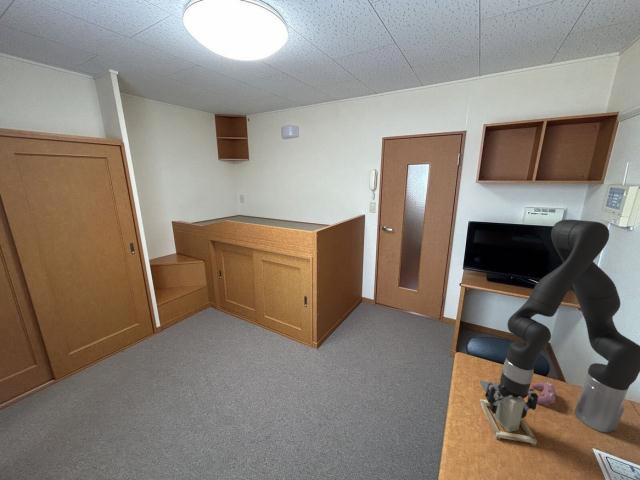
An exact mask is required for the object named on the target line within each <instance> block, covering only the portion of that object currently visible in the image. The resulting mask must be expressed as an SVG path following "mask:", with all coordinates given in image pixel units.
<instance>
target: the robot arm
mask: <svg viewBox="0 0 640 480" xmlns="http://www.w3.org/2000/svg"><path fill="white" fill-rule="evenodd" d="M550 238H551V241H552V244H553V247H554V248H555V250H556V252H557V254H558V255H559V256H558V257H560V259H561V261H562V264H560V265H559V266H558V267H557V268H555V269H553V270H552V271H551V272H549V273H548V274H546V275H545V276H544V277H542V278H540V280H539V281H538V282H537V283H536V284H535V286H534V288H533V289H532V291H531V293H530V295H529V297H528V299H527V301H525V302H524V304H523V305H522V306H521V307H519V309H518V310H516V311H515V312H514V313H513V314H512V315H511V316H510V317H509V318H508V321H507V330H508V331H509V333H511V334H513V336H516V337H517V338H519V339H521V340H522V341H524V342H521V341H512V342H511V343H510V344H509V346H508V350H507V355H506V358H505V361H504V363H503V368H502V370H501V374H500V377H499V378H500V381H499V383H500V384H499V385H498V386H494V385H492V383H489V384H488V387H487V390H486V392H485V394H484V397H485V400H487V401H488V403H490V406H489V408H488V409H490V410H489V411H490V413H491V412H492V414H493V415H494V414H496V411H497V407H498V406H497V405H498V404H499V403H504V402H505V401H507V400H508V399H509V398H510V399H511V398H513V397H517V398H518V400H523V399H524V400H525V399H526V398H527V402H526V401H525V403H524V407H523V412H522V416H521V418H523V419H525V417H526V416H527V414H528V411H529V410H534V411H535V410H537V405H538V403H537V400H538V397H539V395H538V393H537V392H536V390H535V389H534V388H531V384H532V381H533V380H532V379H533V377H534V369H535V365H536V362H537V358H538V357H539V354H540V353H541V352H542V351H543V349H544V348H545V347H546V346H547V345H548V344H549V342H550V340H551V338H552V334H551V333H552V332H551V330H550V328H548V326H547V325H545V324H543V323H541V322H539V321H537V320H535V319H533V317H534V316H535V315H540V316H544V317H548V318H551V317H553V316H554V315H555V314H557V311H558V309H559V308H560V306H561V304H562V302H563V301H564V299H565V297H566V295H567V294H568V293H569V290H570V289H571V287H572V288H573V292H574V294H575V298H576V299H577V302H578V305H579V307H580V310H581V314H582V316H583V318H584V319H583V320H584V321H585V324H586V330H587V336H588V340H589V341H588V342H589V344H590V346H591V349H593V351H595V353H596V354H597V355H599V356H600V357H602V358H603V359H604V360H606V361H607V364H604V363H597V362H594V363H591V364H590V365H589V366H588V369H587V373H586V376H585V378H584V382H583V385H582V388H581V390H580V394H579V395H578V396H579V397H578V399H577V403H576V406H575V409H574V414H575V416H576V418H577V419H579V421H581V422H582V423H583V424H585V425H586V426H587V427H589V428H591V429H593V430H596V431H598V432H601V433H606V434H607V433H611V432H612V431H617V428H618V426H619V423H620V420H621V419H622V415H623V413H624V410H625V407H624V405H623V403H624V401H625V398H626V396H627V393H628V391H629V388H630V386H631V385H633V383H634V382H635V381H636V379H638V377H639V374H640V345H639V344H638V343H636V342H634V341H633V340H631V339H630V338H628V337H626V336H624V334H621V333H620V331H618V329H617V328H616V325H615V322H614V319H613V317H614V316H615V315H616V314H617V312H618V311H619V309H620V307H621V299H620V295H619V292H618V289H617V286H616V284H615V283H614V281H613V280H612V279H611V277H609V276H608V274H607V273H606V272H605V271H604V270H602V268H600V267H599V266H598V265H597V264H596V263H595V262H594V260H595V259H596V258H598V256H599V255H600V254H601V253H602V251H603V250H604V249H605V247H606V246H607V245H608V241H609V239H610V230H609V228H608V227H607V225H606V224H604V223H603V222H598V221H591V220H582V219H581V220H579V219H561V220H559V221H557V222H555V223H554V225H553V226H552V228H551V231H550ZM525 342H526V343H525ZM496 391H497V392H496ZM500 393H501V395H502V398H501V397H500ZM494 394H495V395H494ZM497 398H498V399H497ZM522 398H523V399H522ZM495 399H497V400H495Z"/></svg>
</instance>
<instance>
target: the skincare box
mask: <svg viewBox="0 0 640 480" xmlns="http://www.w3.org/2000/svg"><path fill="white" fill-rule="evenodd" d="M500 397H501V398H502V395H501V393H500ZM497 399H498V398H497ZM522 399H523V398H522ZM525 402H526V400H525V398H524V399H523V400H518V398H517V397H513V398H511V399H510V398H509V399H508V400H507V401H505V402H504V403H499V404H498V405H497V406H498V407H497V411H496V414H493V418H494V420H496V421H497V422H498V423H499V424H500V425H501V427H503V429H504V430H505V432H507V433H512V432H515V431H519V429H520V426H521V424H520V421H521V416H522V412H523V407H524V403H525Z"/></svg>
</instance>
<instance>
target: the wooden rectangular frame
mask: <svg viewBox="0 0 640 480" xmlns="http://www.w3.org/2000/svg"><path fill="white" fill-rule="evenodd" d="M478 404H479V406H480V407H481V408H482V411H483V412H484V414H485V416H486V418H487V421H488V422H489V425H490V426H491V428H492V431H493V433H494V438H495V439H496V440H501V438H502V439H507V440H513V441H517V442H524V443H529V444H530V446H537V442H538V440H537V439H536V437H535V435H534V434H533V432H532V430H531V429H530V427H529V425H528V424H527V423H526V421H525V418H521V421H520V426H521V427H522V429H523V431H524V432H525V434H526V435H525V434H520V433H519V434H517V433H512V432H507V431H501V430H499V428H498V425H497V424H496V421H495V419H494V417H493V415H492V414H491V411H490V410H489V408H488V406H490V403H488V401H487V399H481V398H479V402H478Z"/></svg>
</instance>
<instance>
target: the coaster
mask: <svg viewBox="0 0 640 480" xmlns="http://www.w3.org/2000/svg"><path fill="white" fill-rule="evenodd" d="M479 383H480V384H481V387H482V388H483V390H484V392H485V393H486V390H487V387H488V384H489V383H492V385H494V386H498V385H499V384H500V382H492V381H483V380H480V381H479ZM496 392H497V391H496ZM494 395H495V394H494ZM495 400H497V399H495Z"/></svg>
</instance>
